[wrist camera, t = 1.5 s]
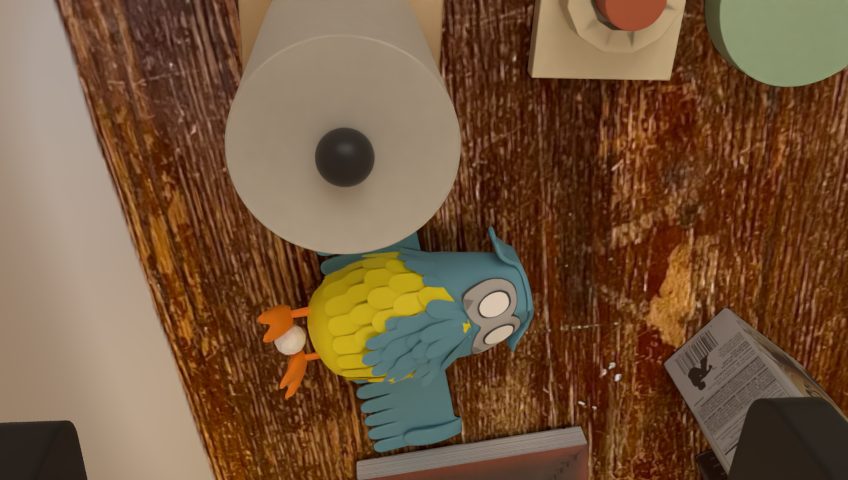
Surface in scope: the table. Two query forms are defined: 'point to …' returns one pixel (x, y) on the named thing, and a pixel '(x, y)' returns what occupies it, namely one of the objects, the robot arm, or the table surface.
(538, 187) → the table surface
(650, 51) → the push button box
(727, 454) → the coffee box
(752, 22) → the green round disc
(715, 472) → the box
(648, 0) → the red button
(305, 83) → the beige tall cylinder
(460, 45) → the table surface
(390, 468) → the picture frame
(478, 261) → the owl figurine
